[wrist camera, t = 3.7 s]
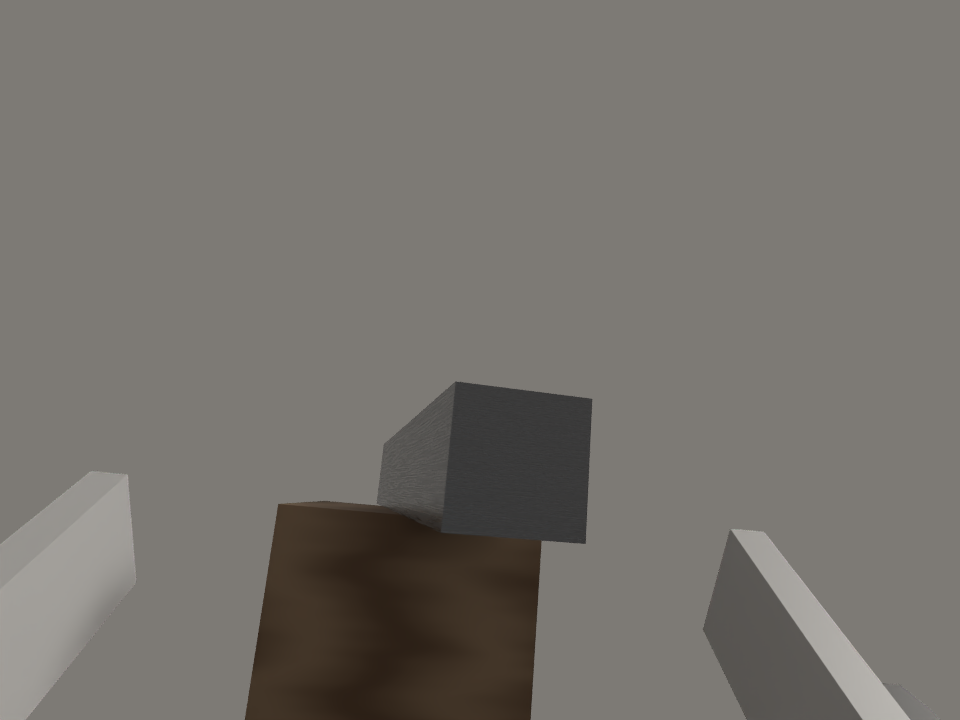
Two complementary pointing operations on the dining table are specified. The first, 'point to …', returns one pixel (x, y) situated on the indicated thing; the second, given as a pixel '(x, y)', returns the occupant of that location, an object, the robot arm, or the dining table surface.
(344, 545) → the walnut stand
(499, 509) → the steel bar
